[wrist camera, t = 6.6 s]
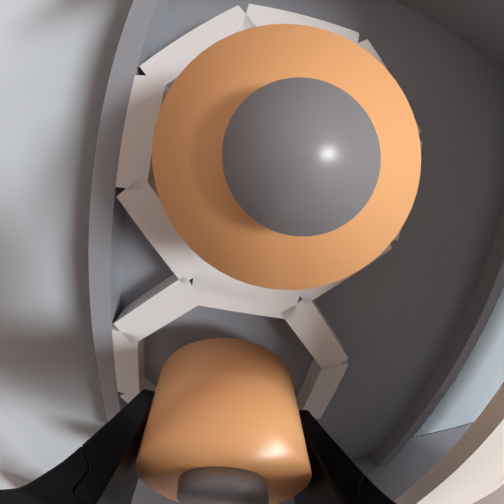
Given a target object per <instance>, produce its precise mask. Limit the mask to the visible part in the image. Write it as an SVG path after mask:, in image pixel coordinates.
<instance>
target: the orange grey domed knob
mask: <svg viewBox="0 0 504 504" xmlns="http://www.w3.org/2000/svg"><path fill="white" fill-rule="evenodd" d="M152 167H153V173H154V179H155V185H156V189H157V192H158V195H159V198H160V201H161V204H162V206H163V208H164V210H165V213H166V215H167V217H168V219H169V221H170V222H171V224H172V225H173V227H174V228H175V230H176V231H177V233H178V235H179V236H180V237H181V238H182V239H183V240H184V242H185V243H186V244H187V245H188V246H189V248H190V249H191V250H193V251H194V252H195V253H196V254H197V255H198V256H199V257H200V258H201V259H203V260H204V261H205V262H207V263H208V264H209V265H211V266H212V267H214V268H215V269H217V270H218V271H220V272H222V273H224V274H226V275H228V276H230V277H232V278H234V279H236V280H239V281H242V282H244V283H247V284H250V285H254V286H258V287H263V288H268V289H278V290H302V289H309V288H315V287H320V286H323V285H327V284H330V283H334V282H336V281H338V280H341V279H343V278H346V277H348V276H350V275H352V274H353V273H355V272H357V271H359V270H360V269H362V268H363V267H365V266H366V265H367V264H369V263H370V262H371V261H373V260H374V259H375V258H376V257H377V256H379V255H380V254H381V253H382V252H383V251H384V250H385V249H386V248H387V247H388V245H389V244H390V243H391V242H392V241H393V239H394V238H395V237H396V236H397V234H398V233H399V231H400V229H401V228H402V226H403V225H404V223H405V221H406V219H407V217H408V215H409V213H410V211H411V209H412V206H413V203H414V200H415V197H416V194H417V190H418V185H419V180H420V172H421V146H420V138H419V133H418V128H417V124H416V121H415V118H414V115H413V112H412V109H411V107H410V105H409V103H408V101H407V98H406V96H405V94H404V93H403V91H402V90H401V88H400V86H399V85H398V83H397V82H396V80H395V79H394V78H393V77H392V75H391V74H390V73H389V72H388V71H387V69H386V68H385V67H384V66H383V65H382V64H381V63H380V62H379V61H378V60H377V59H376V58H374V57H373V56H372V55H371V54H370V53H368V52H367V51H366V50H364V49H363V48H361V47H360V46H359V45H357V44H355V43H353V42H352V41H350V40H348V39H346V38H344V37H342V36H340V35H337V34H335V33H332V32H330V31H327V30H324V29H320V28H316V27H311V26H307V25H297V24H269V25H263V26H258V27H252V28H249V29H246V30H242V31H239V32H236V33H234V34H231V35H229V36H227V37H225V38H223V39H221V40H219V41H217V42H216V43H214V44H213V45H211V46H210V47H208V48H207V49H205V50H204V51H202V52H201V53H200V54H199V55H198V56H197V57H195V58H194V59H193V60H192V61H191V62H190V63H189V64H188V65H187V66H186V67H185V69H184V70H183V71H182V72H181V73H180V75H179V76H178V77H177V78H176V80H175V81H174V83H173V85H172V86H171V88H170V89H169V91H168V93H167V94H166V97H165V99H164V101H163V104H162V106H161V108H160V111H159V114H158V117H157V121H156V125H155V129H154V136H153V144H152Z"/></svg>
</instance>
